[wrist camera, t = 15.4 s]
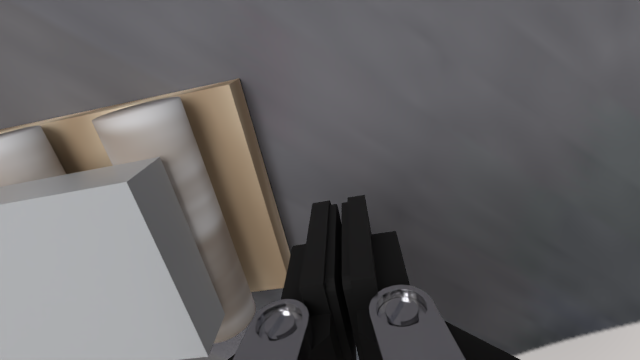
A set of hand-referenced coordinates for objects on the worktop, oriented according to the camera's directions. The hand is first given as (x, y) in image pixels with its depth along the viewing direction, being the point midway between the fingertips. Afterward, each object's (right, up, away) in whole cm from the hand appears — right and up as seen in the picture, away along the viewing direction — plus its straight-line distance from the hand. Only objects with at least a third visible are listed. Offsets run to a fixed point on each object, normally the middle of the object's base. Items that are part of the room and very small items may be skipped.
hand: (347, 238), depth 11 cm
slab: (-13, -2, +3) cm, 14 cm away
